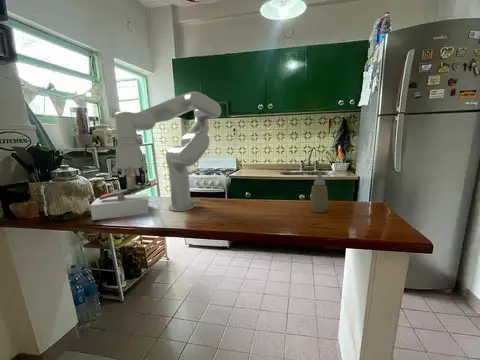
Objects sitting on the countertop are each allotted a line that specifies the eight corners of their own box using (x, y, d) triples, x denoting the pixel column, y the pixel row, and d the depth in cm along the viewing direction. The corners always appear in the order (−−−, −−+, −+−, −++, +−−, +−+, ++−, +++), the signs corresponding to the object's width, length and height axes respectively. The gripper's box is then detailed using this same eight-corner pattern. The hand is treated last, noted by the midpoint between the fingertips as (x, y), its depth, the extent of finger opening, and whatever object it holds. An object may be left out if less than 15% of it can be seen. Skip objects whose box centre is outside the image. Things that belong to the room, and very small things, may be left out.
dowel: (137, 189, 108) (135, 162, 106) (137, 190, 105) (134, 162, 103) (127, 190, 107) (124, 162, 105) (126, 191, 103) (124, 163, 101)
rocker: (140, 187, 124) (139, 185, 124) (139, 189, 120) (138, 187, 120) (102, 197, 119) (101, 195, 119) (100, 200, 115) (99, 197, 114)
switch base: (148, 206, 132) (146, 186, 130) (148, 213, 119) (146, 191, 117) (98, 211, 124) (95, 191, 122) (92, 220, 111) (89, 197, 109)
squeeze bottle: (308, 213, 111) (309, 174, 108) (310, 208, 119) (311, 171, 116) (327, 214, 108) (328, 174, 105) (328, 209, 116) (329, 172, 113)
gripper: (148, 141, 109) (152, 182, 112) (106, 142, 103) (111, 185, 106) (148, 141, 102) (152, 184, 105) (103, 143, 96) (108, 188, 99)
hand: (131, 184), depth 106 cm, fingers closed on dowel, 4 cm apart
